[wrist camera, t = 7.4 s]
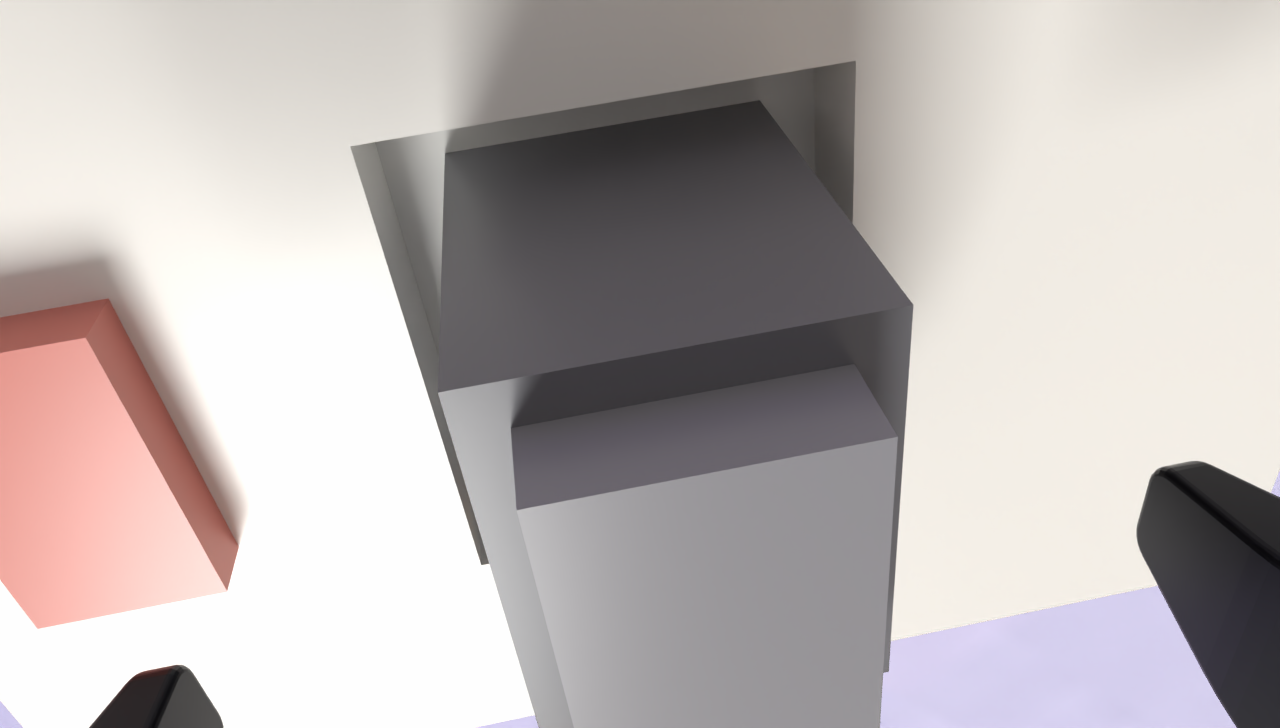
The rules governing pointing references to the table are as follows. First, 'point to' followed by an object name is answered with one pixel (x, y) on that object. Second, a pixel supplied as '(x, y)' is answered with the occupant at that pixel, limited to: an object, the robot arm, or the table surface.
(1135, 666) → the table surface
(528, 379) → the plug
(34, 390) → the socket plate
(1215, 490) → the robot arm
